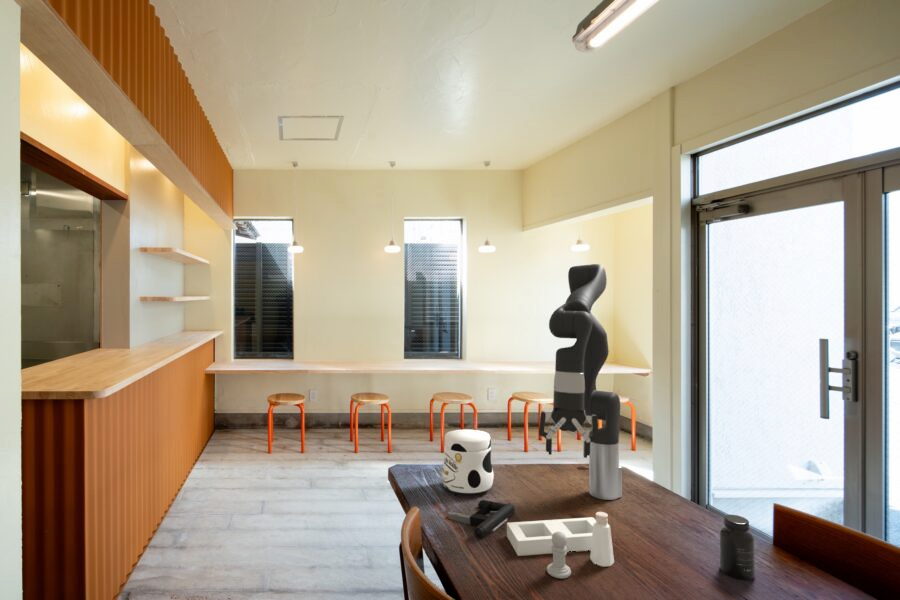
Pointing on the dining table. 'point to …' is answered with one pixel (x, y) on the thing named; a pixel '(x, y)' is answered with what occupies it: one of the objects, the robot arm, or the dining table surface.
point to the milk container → (467, 462)
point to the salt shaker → (602, 541)
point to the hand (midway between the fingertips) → (567, 455)
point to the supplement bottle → (737, 548)
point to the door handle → (485, 517)
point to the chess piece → (559, 557)
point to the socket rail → (550, 535)
